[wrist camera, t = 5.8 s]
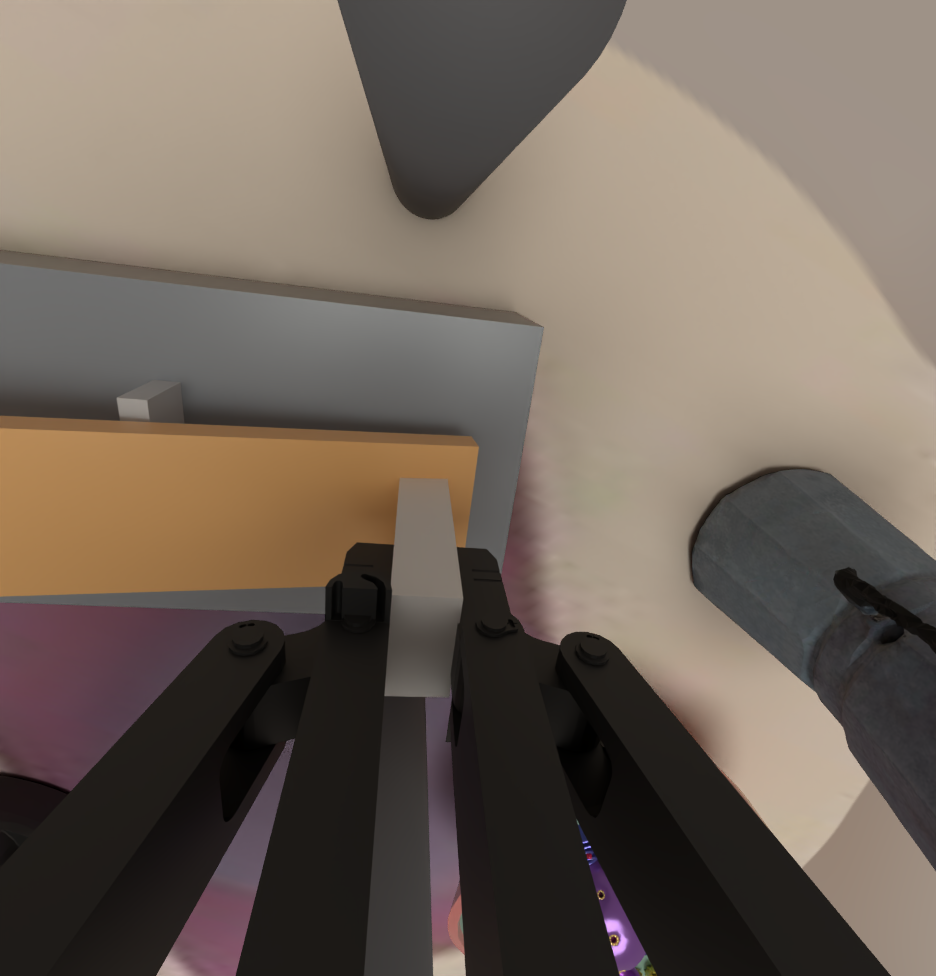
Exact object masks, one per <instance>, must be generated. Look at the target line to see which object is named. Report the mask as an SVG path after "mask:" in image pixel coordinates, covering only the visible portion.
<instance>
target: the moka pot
mask: <svg viewBox="0 0 936 976" xmlns="http://www.w3.org/2000/svg"><path fill="white" fill-rule="evenodd" d="M692 572H693V579H694V586H695V587H696V588H697V589H698V590H699V591H700V592H701V593H702V594H703V595H704V596H705V597H706V598H707V599H708V600H710V601H711V602H712V603H713V604H714V605H715V606H716V607H718V608H719V609H720V610H721V611H722V612H724V613H725V614H726V615H727V616H728V617H729V618H730V619H731V620H733V621H734V622H735V623H736V624H737V625H739V626H740V627H741V628H742V629H743V630H744V631H746V632H747V633H748V634H749V635H750V636H751V637H752V638H753V639H755V640H756V641H757V642H758V643H759V644H760V645H762V646H763V647H764V648H765V649H766V650H767V651H769V652H770V653H771V654H772V655H773V656H774V657H775V658H777V659H778V660H779V661H780V662H781V663H782V664H783V665H784V666H785V667H787V668H788V669H789V670H790V671H791V672H792V673H793V674H795V675H796V676H797V677H798V678H799V679H800V680H801V681H803V682H804V683H805V684H806V685H808V686H809V687H810V688H811V689H813V690H814V691H815V692H816V693H817V695H818V697H819V699H820V700H821V702H822V703H823V704H824V705H825V706H826V708H827V709H828V710H829V711H830V712H831V713H832V714H833V716H834V717H835V718H836V719H837V720H838V722H839V723H840V724H841V725H842V726H843V728H844V731H845V735H846V740H847V744H848V747H849V750H850V751H851V753H852V754H853V756H854V757H855V758H856V760H857V761H858V763H859V764H860V766H861V767H862V768H863V770H864V771H865V773H866V774H867V775H868V777H869V778H870V780H871V781H872V782H873V784H874V785H875V786H876V788H877V789H878V790H879V792H880V793H881V795H882V796H883V797H884V799H885V800H886V801H887V803H888V804H889V806H890V807H891V809H892V810H893V812H894V813H895V815H896V816H897V817H898V819H899V820H900V822H901V823H902V825H903V826H904V827H905V829H906V830H907V832H908V833H909V834H910V836H911V837H912V838H913V840H914V841H915V843H916V844H917V845H918V847H919V848H920V849H921V851H922V852H923V854H924V855H925V857H926V858H927V859H928V861H929V862H930V863H931V865H932V866H933V868H934V869H935V870H936V560H934V559H933V558H932V557H930V556H929V555H928V554H927V553H925V552H924V551H923V550H922V549H921V548H920V547H919V546H918V545H917V544H915V543H914V542H913V541H912V540H910V539H909V538H908V537H906V536H905V535H904V534H903V533H901V532H900V531H899V530H898V529H897V528H895V527H894V526H893V525H892V524H890V523H889V522H888V521H887V520H886V519H884V518H883V517H882V516H881V515H880V514H878V513H877V512H876V511H875V510H874V509H872V508H871V507H870V506H869V505H868V504H866V503H865V502H864V501H863V500H862V499H860V498H859V497H858V496H857V495H855V494H854V493H853V492H852V491H850V490H849V489H848V488H847V487H845V486H844V485H843V484H842V483H841V482H839V481H838V480H837V479H836V478H834V477H833V476H832V475H831V474H828V473H824V472H819V471H814V470H806V469H795V470H784V471H779V472H776V473H770V474H767V475H764V476H761V477H759V478H757V479H756V480H754V481H752V482H750V483H748V484H746V485H744V486H742V487H740V488H738V489H737V490H735V491H734V492H732V493H730V494H728V495H726V496H725V497H724V498H722V499H721V500H720V502H719V504H718V505H717V506H716V507H715V508H714V509H713V511H712V512H711V514H710V516H709V517H708V518H707V519H706V521H705V523H704V525H703V526H702V528H701V529H700V532H699V535H698V538H697V541H696V543H695V545H694V548H693V552H692Z"/></svg>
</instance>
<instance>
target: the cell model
mask: <svg viewBox="0 0 936 976" xmlns="http://www.w3.org/2000/svg"><path fill="white" fill-rule="evenodd" d="M718 769H719V770H720V771H721V772H722V773H723V775H724V776H725V777H726V778H727V779H728V781H729V782H730V783H731V784H732V785H733V787H734V788H735V789H736V790H737V791H738V793H739V794H740V795H741V796H742V797H743V799H744V800H745V801H746V802H747V803H748V805H749V806H750V807H751V808H752V809H753V811H754V812H755V813H756V814H757V815H758V817H759V818H760V819H761V820H762V818H761V817H760V815H759V814H758V813H757V811H756V810H755V808H754V807H753V806H752V804H751V803H750V801H749V800H748V799H747V798H746V796H745V795H744V794H743V793H742V791H741V790H740V789H739V788H738V787H737V786H736V785H735V784H734V783H733V781H732V780H731V779H730V778H729V777H728V776H727V775H726V774H725V773H724V772H723V771H722V770H721V769H720V768H718ZM576 820H577V819H576ZM762 821H763V820H762ZM577 823H578V821H577ZM763 823H764V824H765V822H764V821H763ZM765 825H766V824H765ZM766 826H767V825H766ZM578 827H579V831H580V834H581V838H582V841H583V845H584V849H585V852H586V856H587V859H588V863H589V867H590V870H591V874H592V877H593V881H594V885H595V888H596V892H597V895H598V899H599V903H600V906H601V910H602V913H603V917H604V921H605V924H606V928H607V931H608V935H609V939H610V942H611V946H612V949H613V953H614V957H615V960H616V964H617V967H618V971H619V975H620V976H657V974H656V972H655V970H654V968H653V966H652V965H651V963H650V961H649V959H648V957H647V955H646V953H645V951H644V949H643V947H642V945H641V943H640V941H639V939H638V937H637V935H636V934H635V932H634V930H633V928H632V926H631V924H630V922H629V920H628V918H627V916H626V914H625V912H624V910H623V908H622V906H621V904H620V903H619V901H618V899H617V897H616V895H615V893H614V891H613V889H612V887H611V885H610V883H609V881H608V879H607V877H606V875H605V873H604V871H603V870H602V868H601V866H600V864H599V862H598V860H597V858H596V856H595V854H594V852H593V850H592V848H591V846H590V844H589V842H588V840H587V839H586V837H585V835H584V833H583V831H582V829H581V827H580V825H579V823H578ZM768 829H769V828H768ZM769 830H770V829H769ZM448 932H449V935H450V938H451V940H452V941H453V943H454V945H455V946H456V947H457V948H458V949H459V950H460V951H461V952H462V953H463V954H464V955H465V952H464V937H463V921H462V906H461V890H460V881H459V884H458V887H457V891H456V894H455V897H454V900H453V903H452V907H451V910H450V913H449V916H448Z"/></svg>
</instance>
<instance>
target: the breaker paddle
mask: <svg viewBox="0 0 936 976" xmlns="http://www.w3.org/2000/svg"><path fill="white" fill-rule="evenodd" d="M478 450H479V446H478V445H477V443H476V442H475V441H474V439H473V438H472V436H454V435H431V434H408V433H385V432H362V431H340V430H317V429H294V428H271V427H248V426H225V425H203V424H180V423H157V422H134V421H111V420H89V419H66V418H43V417H20V416H0V597H3V596H35V595H67V594H99V593H132V592H164V591H196V590H228V589H260V588H293V587H325V586H326V585H327V584H328V582H329V580H330V579H332V578H333V577H335V576H337V575H338V574H341V573H342V569H343V566H344V561H345V557H346V553H347V551H348V550H349V549H350V548H351V547H352V546H354V545H355V544H356V543H357V542H360V543H376V544H393V545H394V540H395V528H396V516H397V504H398V493H399V481H400V478H432V479H448V485H449V493H450V501H451V508H452V516H453V524H454V531H455V539H456V547H464V548H465V545H466V538H467V530H468V523H469V516H470V509H471V501H472V494H473V487H474V479H475V472H476V465H477V457H478Z"/></svg>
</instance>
